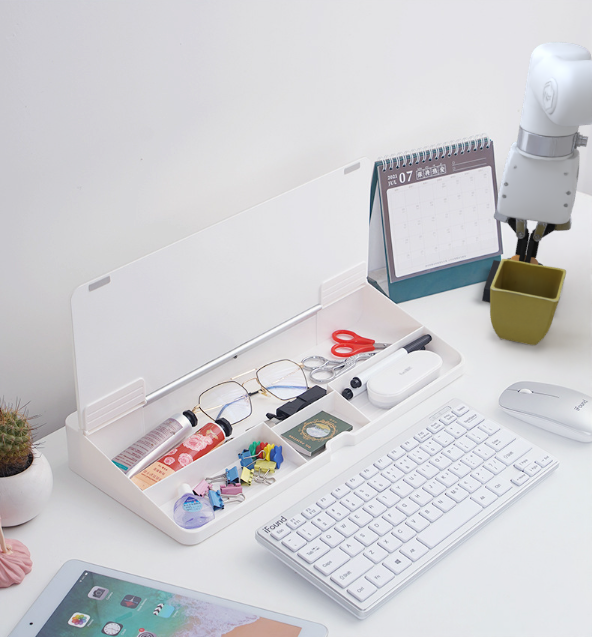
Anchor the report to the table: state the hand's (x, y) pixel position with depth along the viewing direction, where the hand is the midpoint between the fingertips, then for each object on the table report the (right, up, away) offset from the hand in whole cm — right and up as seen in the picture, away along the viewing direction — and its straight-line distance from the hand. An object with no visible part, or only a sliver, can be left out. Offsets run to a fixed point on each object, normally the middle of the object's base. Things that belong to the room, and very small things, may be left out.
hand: (525, 259), depth 117 cm
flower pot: (-3, -11, -6) cm, 13 cm away
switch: (0, -5, +3) cm, 6 cm away
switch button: (0, -2, +1) cm, 2 cm away
